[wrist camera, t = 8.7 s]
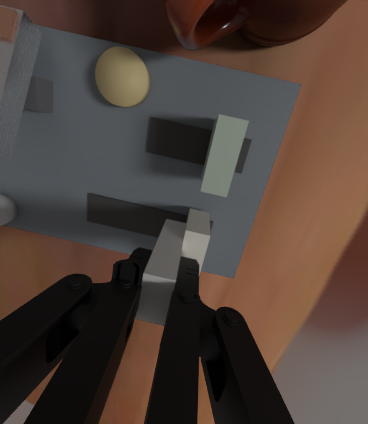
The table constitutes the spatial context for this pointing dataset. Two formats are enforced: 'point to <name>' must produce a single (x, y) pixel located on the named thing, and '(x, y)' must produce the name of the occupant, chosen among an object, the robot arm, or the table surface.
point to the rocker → (14, 72)
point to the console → (137, 146)
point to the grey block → (222, 154)
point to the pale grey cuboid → (196, 236)
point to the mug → (247, 20)
